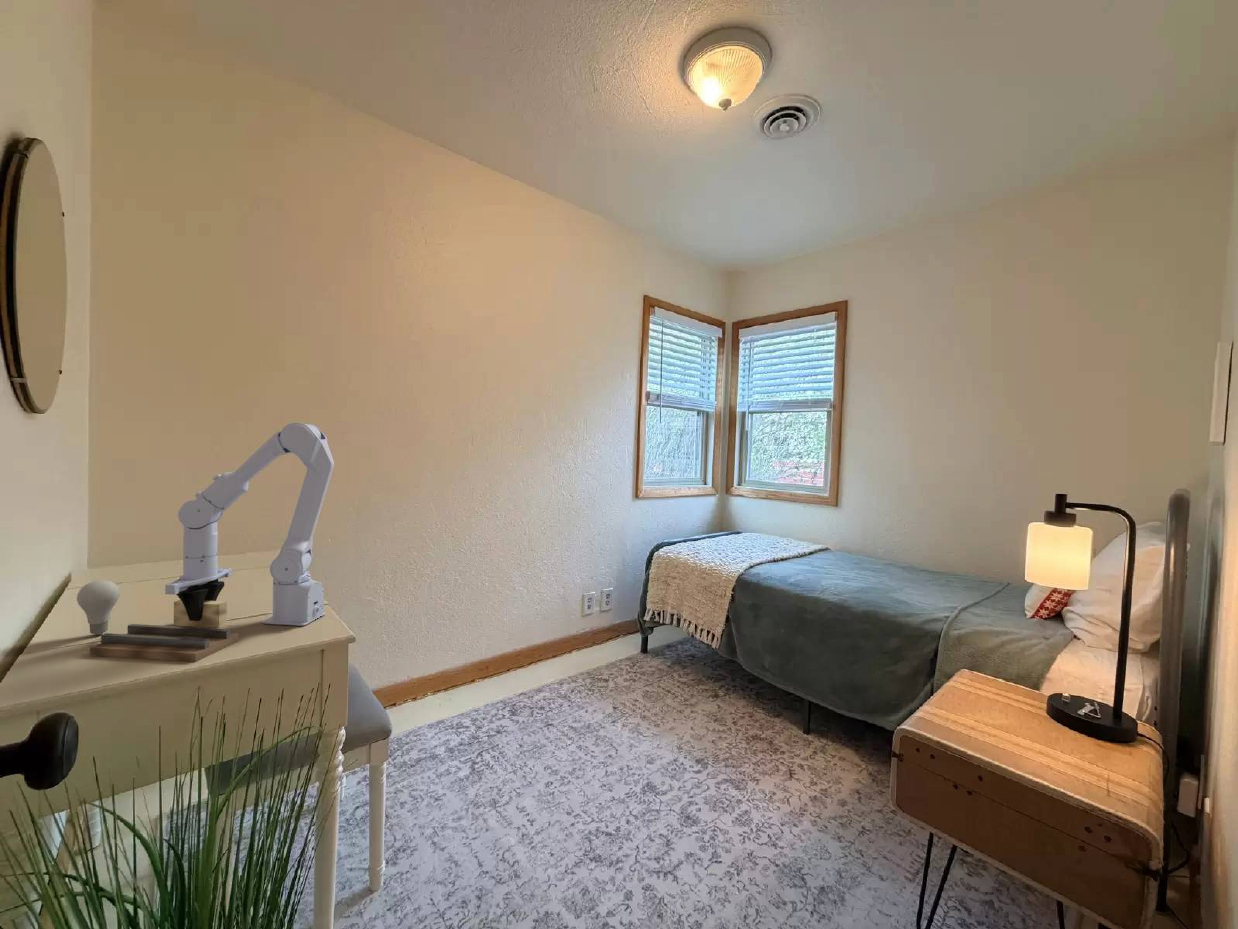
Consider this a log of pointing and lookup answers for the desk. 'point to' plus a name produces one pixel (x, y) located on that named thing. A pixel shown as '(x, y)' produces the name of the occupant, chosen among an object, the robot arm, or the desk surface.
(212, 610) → the wooden block
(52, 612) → the desk surface
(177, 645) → the track board
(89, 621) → the lightbulb
